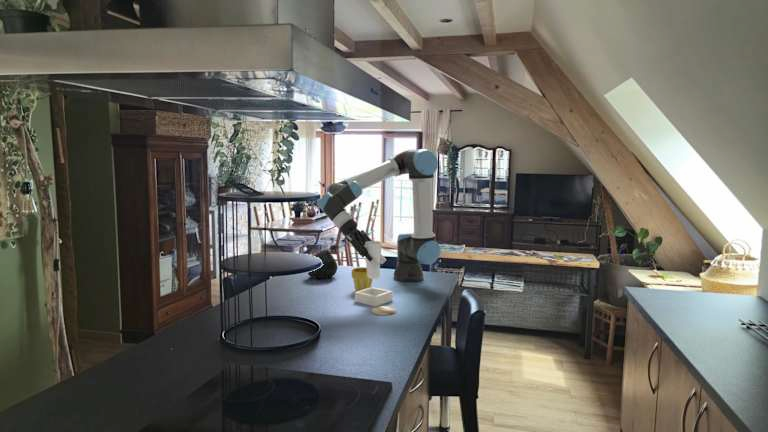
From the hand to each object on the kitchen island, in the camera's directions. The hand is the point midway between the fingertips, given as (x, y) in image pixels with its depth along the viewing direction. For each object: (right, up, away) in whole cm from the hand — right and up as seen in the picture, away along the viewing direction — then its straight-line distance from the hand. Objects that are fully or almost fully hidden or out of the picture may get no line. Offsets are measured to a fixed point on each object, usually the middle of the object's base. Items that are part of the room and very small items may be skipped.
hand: (380, 264), depth 212 cm
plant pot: (-8, -14, +20) cm, 26 cm away
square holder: (-3, -16, +3) cm, 17 cm away
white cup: (-3, -6, +2) cm, 7 cm away
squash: (-30, -11, +44) cm, 54 cm away
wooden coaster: (+1, -18, -11) cm, 21 cm away
